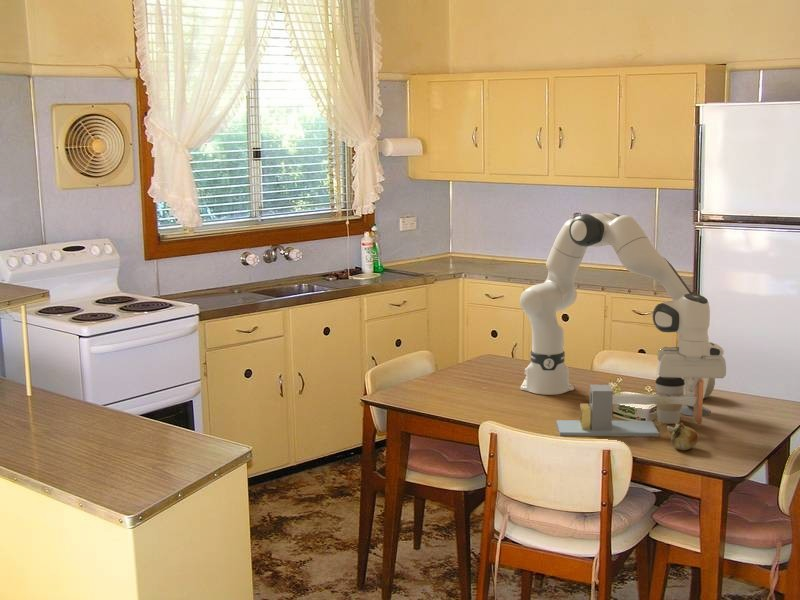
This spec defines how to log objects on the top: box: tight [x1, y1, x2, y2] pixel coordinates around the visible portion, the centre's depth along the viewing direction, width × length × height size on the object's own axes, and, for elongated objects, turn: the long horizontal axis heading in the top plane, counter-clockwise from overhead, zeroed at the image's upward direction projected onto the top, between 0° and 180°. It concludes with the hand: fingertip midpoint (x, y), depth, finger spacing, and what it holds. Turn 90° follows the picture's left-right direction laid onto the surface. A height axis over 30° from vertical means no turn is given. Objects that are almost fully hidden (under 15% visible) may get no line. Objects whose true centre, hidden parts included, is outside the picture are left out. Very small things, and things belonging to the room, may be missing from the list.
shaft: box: [612, 378, 704, 425], centre depth 303 cm, size 6×29×14 cm, turn 86°
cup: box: [680, 378, 712, 417], centre depth 321 cm, size 12×12×22 cm
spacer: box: [579, 403, 591, 430], centre depth 305 cm, size 6×2×6 cm, turn 176°
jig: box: [555, 384, 660, 437], centre depth 304 cm, size 12×30×14 cm, turn 86°
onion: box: [666, 421, 699, 451], centre depth 287 cm, size 8×8×8 cm
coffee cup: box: [655, 376, 685, 425], centre depth 312 cm, size 9×9×15 cm
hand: (690, 391), depth 301 cm, fingers closed
